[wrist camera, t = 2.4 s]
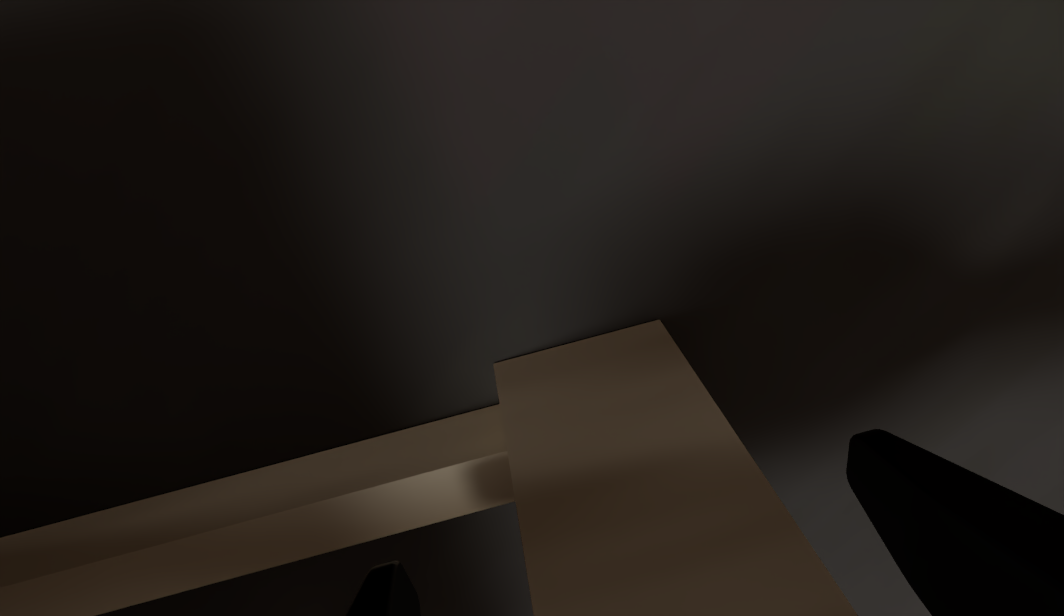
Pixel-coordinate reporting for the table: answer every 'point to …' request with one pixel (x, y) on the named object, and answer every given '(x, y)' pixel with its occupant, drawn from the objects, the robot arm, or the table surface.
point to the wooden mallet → (482, 502)
